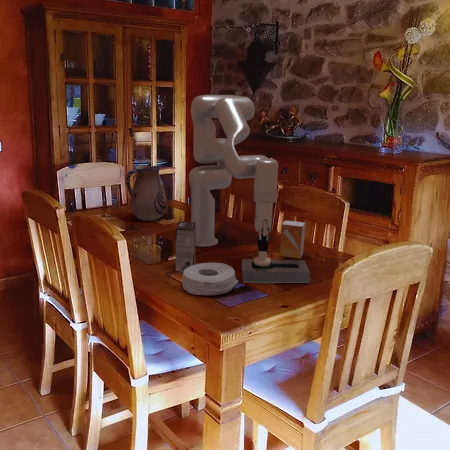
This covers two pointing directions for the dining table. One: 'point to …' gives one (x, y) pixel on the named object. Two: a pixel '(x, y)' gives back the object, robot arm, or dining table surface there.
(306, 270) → the rail
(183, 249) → the coffee box
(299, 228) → the small box
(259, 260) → the peg
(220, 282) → the cable
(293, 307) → the dining table surface
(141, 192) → the ceramic pitcher
